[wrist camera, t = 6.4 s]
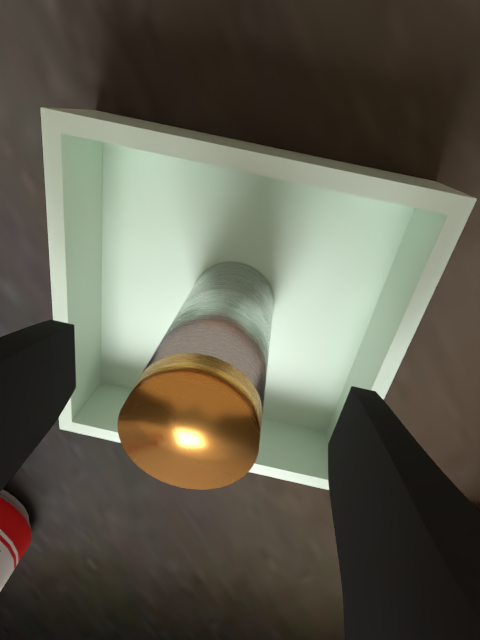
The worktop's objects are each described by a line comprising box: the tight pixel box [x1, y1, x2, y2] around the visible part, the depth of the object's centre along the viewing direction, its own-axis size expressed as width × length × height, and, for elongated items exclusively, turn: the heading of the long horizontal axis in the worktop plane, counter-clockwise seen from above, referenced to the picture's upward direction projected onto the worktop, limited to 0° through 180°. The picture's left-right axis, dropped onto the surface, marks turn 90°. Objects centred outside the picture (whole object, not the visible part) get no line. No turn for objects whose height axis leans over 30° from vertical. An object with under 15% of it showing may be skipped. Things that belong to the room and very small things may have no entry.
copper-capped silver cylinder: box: [117, 261, 274, 489], centre depth 11 cm, size 3×3×7 cm
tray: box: [41, 107, 477, 490], centre depth 13 cm, size 11×11×3 cm
